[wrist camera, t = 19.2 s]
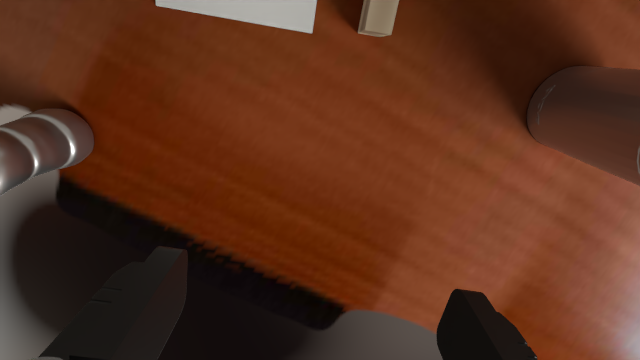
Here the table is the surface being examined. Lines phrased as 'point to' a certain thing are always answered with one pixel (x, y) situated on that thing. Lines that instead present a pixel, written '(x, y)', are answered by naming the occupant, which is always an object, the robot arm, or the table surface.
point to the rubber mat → (254, 11)
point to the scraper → (378, 17)
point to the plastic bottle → (41, 145)
